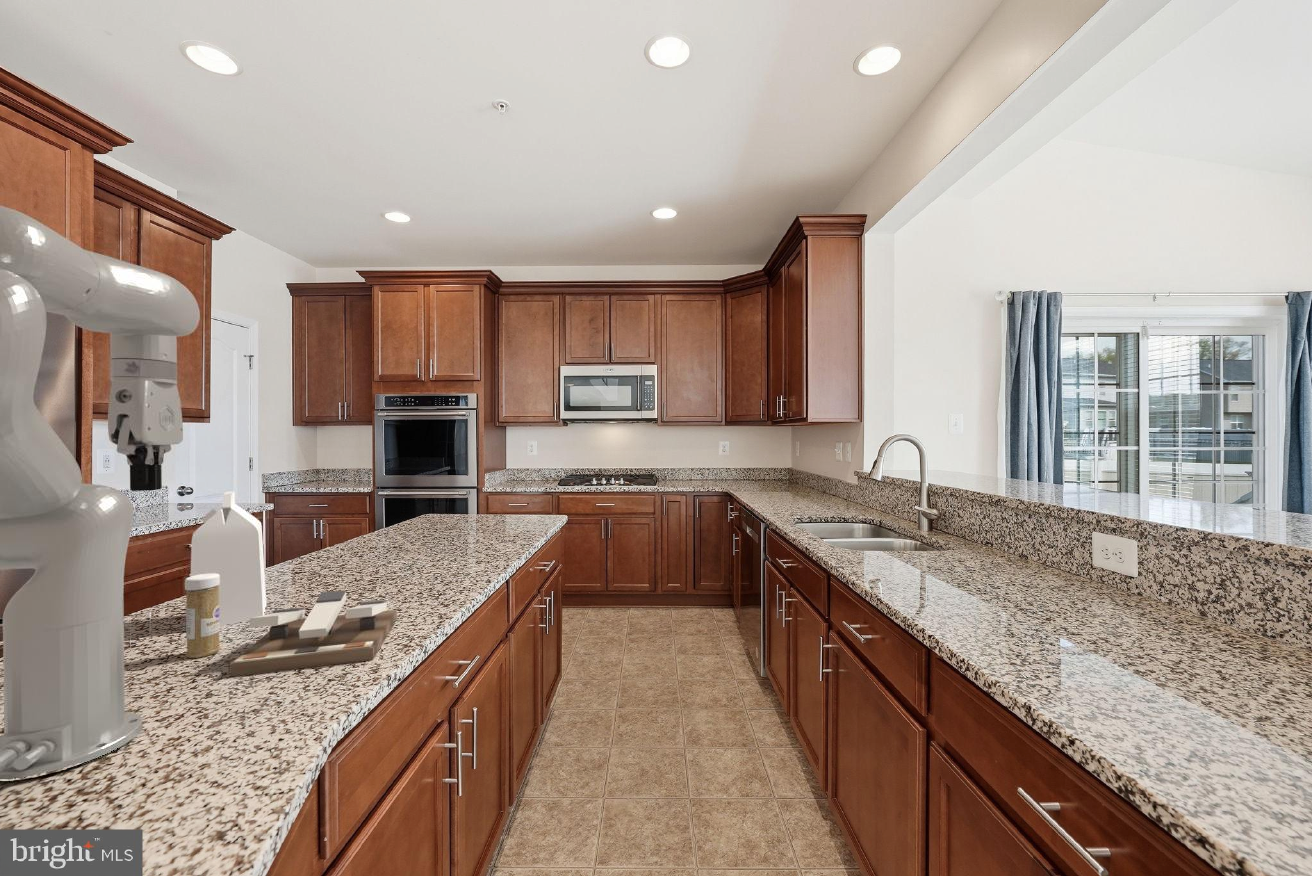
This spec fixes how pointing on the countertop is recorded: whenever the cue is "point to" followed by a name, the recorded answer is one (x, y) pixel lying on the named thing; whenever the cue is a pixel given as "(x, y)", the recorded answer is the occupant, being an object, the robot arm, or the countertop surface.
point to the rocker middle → (323, 614)
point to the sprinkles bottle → (202, 615)
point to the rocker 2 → (367, 609)
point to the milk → (232, 560)
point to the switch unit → (316, 645)
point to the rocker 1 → (277, 617)
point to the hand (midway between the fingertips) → (146, 489)
